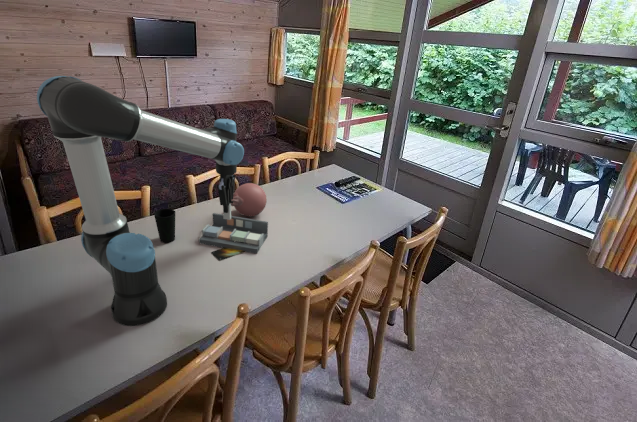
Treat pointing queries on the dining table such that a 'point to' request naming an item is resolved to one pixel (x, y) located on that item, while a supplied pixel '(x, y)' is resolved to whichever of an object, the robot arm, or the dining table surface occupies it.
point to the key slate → (211, 231)
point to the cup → (165, 224)
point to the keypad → (232, 226)
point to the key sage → (239, 236)
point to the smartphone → (226, 253)
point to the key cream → (253, 238)
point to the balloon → (249, 199)
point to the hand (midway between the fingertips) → (227, 218)
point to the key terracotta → (225, 235)
